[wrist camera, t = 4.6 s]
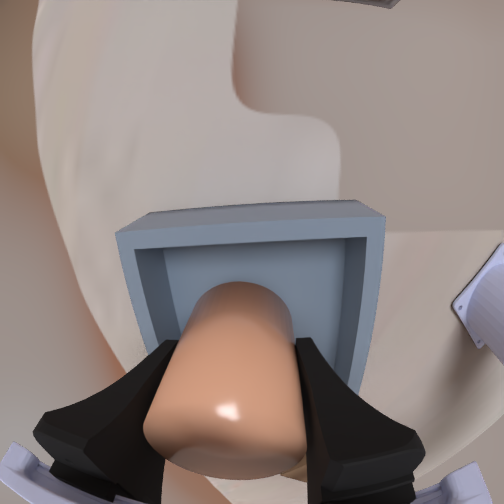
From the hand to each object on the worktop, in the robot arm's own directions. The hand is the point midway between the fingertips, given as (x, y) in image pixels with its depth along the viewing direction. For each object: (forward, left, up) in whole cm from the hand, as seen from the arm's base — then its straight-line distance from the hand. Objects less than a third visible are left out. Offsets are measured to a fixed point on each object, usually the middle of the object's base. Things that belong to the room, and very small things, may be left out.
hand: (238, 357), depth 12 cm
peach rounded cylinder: (0, 0, -2) cm, 2 cm away
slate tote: (-3, +2, -9) cm, 9 cm away
